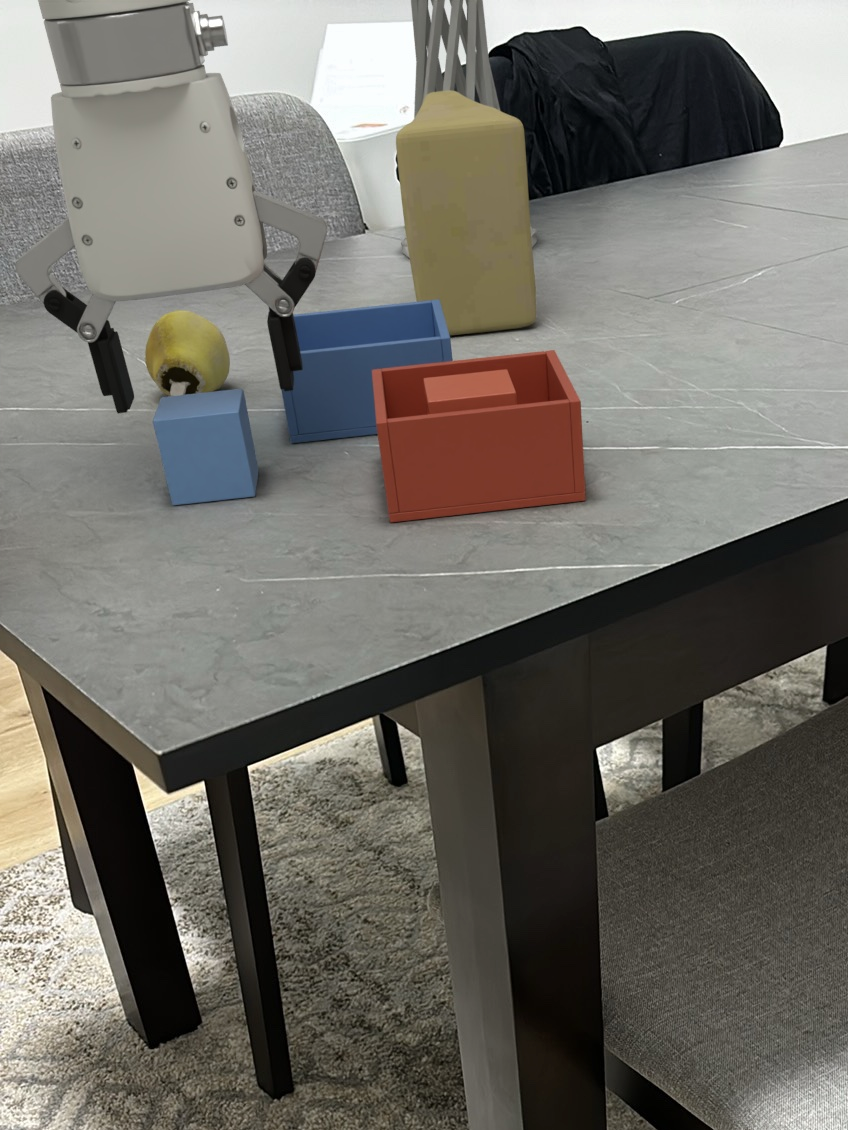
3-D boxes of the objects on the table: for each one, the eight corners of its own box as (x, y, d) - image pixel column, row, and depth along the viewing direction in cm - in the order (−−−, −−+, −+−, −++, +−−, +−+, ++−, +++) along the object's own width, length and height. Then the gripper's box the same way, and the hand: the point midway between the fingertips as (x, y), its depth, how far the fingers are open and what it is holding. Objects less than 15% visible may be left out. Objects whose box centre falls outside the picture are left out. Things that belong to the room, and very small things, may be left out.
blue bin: (290, 443, 91) (275, 355, 88) (294, 397, 100) (280, 315, 97) (459, 425, 92) (450, 337, 89) (448, 380, 101) (439, 299, 98)
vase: (397, 266, 134) (340, -203, 113) (406, 239, 145) (355, -194, 124) (537, 255, 134) (506, -218, 113) (536, 229, 145) (507, -208, 123)
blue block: (172, 506, 83) (152, 420, 80) (179, 479, 87) (160, 396, 84) (255, 496, 84) (238, 411, 80) (259, 470, 87) (243, 388, 84)
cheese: (408, 283, 128) (385, 93, 119) (512, 272, 129) (497, 82, 120) (418, 341, 111) (392, 124, 102) (539, 328, 111) (524, 111, 102)
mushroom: (138, 423, 98) (146, 366, 105) (225, 438, 100) (227, 381, 106) (142, 341, 94) (150, 287, 101) (232, 358, 96) (234, 304, 103)
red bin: (389, 522, 78) (376, 423, 75) (384, 461, 87) (371, 369, 84) (586, 500, 79) (580, 400, 76) (560, 441, 88) (554, 349, 84)
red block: (438, 490, 81) (427, 401, 78) (433, 463, 85) (423, 377, 81) (523, 481, 81) (516, 391, 78) (514, 454, 85) (507, 368, 82)
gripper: (295, 28, 75) (351, 360, 86) (-26, 68, 74) (70, 397, 85) (292, 39, 69) (352, 394, 80) (-56, 82, 68) (51, 434, 79)
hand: (207, 395), depth 82 cm, fingers open, 9 cm apart
